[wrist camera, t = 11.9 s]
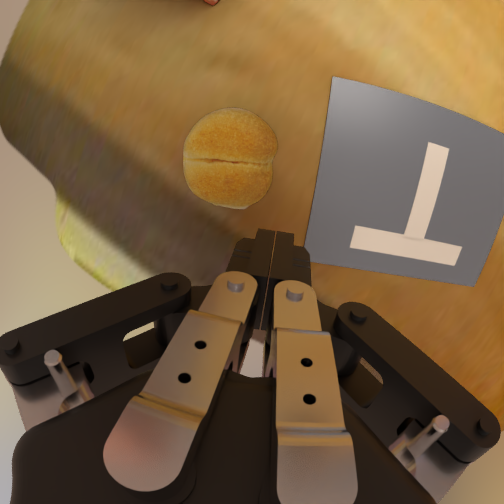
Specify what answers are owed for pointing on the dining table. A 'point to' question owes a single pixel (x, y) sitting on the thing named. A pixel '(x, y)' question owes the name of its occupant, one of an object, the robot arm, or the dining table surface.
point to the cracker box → (211, 1)
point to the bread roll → (230, 158)
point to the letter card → (405, 187)
